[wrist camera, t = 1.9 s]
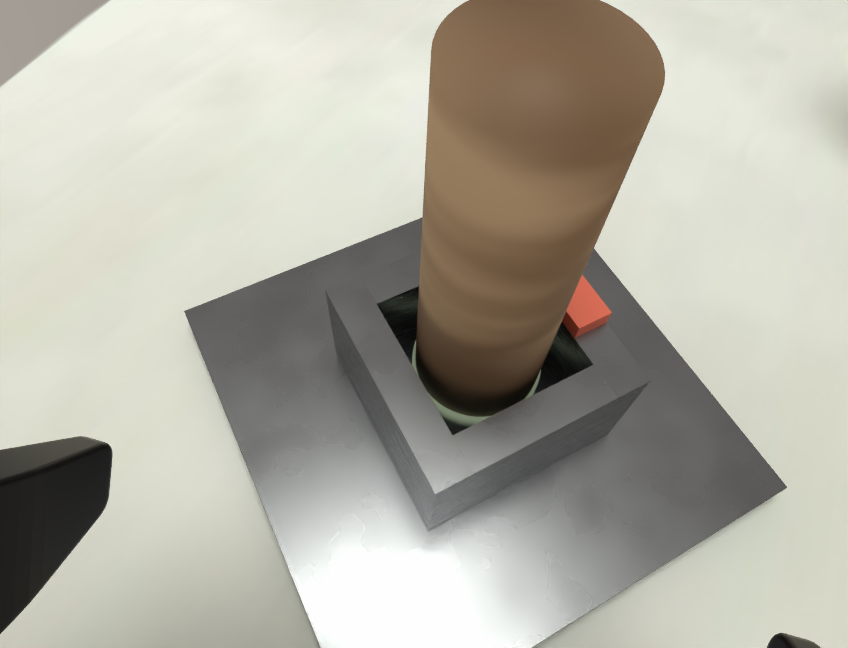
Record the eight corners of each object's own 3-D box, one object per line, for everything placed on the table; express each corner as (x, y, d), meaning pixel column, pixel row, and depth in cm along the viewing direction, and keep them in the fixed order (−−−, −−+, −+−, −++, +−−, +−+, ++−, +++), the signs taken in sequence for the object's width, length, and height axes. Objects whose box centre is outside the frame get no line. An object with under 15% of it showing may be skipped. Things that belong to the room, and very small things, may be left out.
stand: (364, 750, 19) (351, 770, 13) (191, 324, 25) (137, 227, 20) (772, 495, 23) (885, 434, 18) (529, 189, 30) (557, 79, 24)
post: (446, 468, 22) (507, 179, 10) (390, 369, 23) (383, 20, 11) (549, 415, 23) (723, 95, 11) (489, 324, 25) (577, -38, 12)
